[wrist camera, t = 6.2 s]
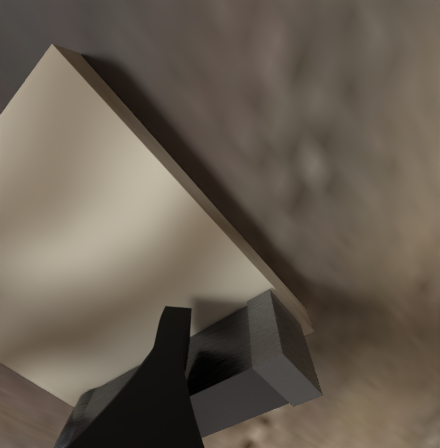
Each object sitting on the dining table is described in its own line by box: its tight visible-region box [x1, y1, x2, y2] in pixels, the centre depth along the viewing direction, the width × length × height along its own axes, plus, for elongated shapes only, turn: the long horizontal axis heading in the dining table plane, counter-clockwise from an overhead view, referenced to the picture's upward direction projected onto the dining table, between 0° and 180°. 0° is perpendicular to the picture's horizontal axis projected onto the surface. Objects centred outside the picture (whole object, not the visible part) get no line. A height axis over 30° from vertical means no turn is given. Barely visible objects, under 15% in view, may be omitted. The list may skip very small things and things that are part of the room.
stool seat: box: [0, 44, 314, 407], centre depth 12 cm, size 15×15×3 cm
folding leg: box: [53, 289, 323, 448], centre depth 12 cm, size 14×3×3 cm, turn 128°
